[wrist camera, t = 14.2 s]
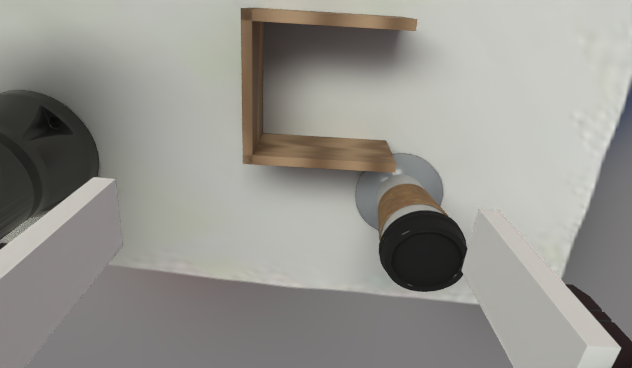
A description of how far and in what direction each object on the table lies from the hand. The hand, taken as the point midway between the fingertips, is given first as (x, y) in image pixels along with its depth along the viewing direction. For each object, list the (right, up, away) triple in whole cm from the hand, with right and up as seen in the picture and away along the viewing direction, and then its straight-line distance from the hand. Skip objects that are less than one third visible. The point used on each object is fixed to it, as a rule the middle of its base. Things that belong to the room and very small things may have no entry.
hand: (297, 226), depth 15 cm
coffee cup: (+11, 0, +38) cm, 39 cm away
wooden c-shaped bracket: (+2, +13, +33) cm, 35 cm away
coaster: (+11, 0, +38) cm, 40 cm away
